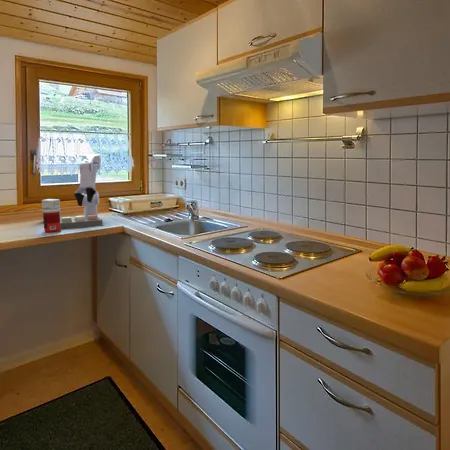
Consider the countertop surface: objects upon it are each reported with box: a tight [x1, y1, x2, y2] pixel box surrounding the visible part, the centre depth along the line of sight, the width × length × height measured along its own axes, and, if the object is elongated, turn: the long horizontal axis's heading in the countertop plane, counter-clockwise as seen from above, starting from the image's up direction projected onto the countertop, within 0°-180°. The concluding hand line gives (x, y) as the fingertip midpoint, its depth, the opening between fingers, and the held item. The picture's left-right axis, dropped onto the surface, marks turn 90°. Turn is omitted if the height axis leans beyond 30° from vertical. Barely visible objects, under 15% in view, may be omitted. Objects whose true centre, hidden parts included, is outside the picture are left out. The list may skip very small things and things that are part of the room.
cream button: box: [74, 215, 85, 221], centre depth 222 cm, size 4×4×3 cm
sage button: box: [61, 216, 73, 222], centre depth 218 cm, size 4×4×3 cm
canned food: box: [42, 209, 61, 234], centre depth 204 cm, size 8×8×11 cm
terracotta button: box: [88, 214, 98, 220], centre depth 226 cm, size 4×4×3 cm
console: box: [60, 217, 104, 230], centre depth 222 cm, size 12×22×3 cm, turn 122°
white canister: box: [41, 198, 62, 222], centre depth 237 cm, size 7×7×13 cm
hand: (84, 203), depth 219 cm, fingers open, 7 cm apart
